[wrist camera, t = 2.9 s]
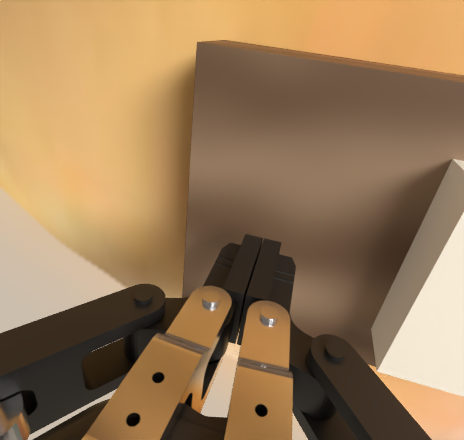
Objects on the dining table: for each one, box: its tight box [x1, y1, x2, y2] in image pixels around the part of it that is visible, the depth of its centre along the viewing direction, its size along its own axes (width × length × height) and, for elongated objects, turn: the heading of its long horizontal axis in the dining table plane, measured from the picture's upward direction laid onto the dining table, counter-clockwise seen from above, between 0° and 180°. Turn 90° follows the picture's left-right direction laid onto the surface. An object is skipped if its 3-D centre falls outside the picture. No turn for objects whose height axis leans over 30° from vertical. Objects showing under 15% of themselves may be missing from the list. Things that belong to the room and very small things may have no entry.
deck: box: [182, 40, 464, 366], centre depth 16 cm, size 14×20×4 cm
